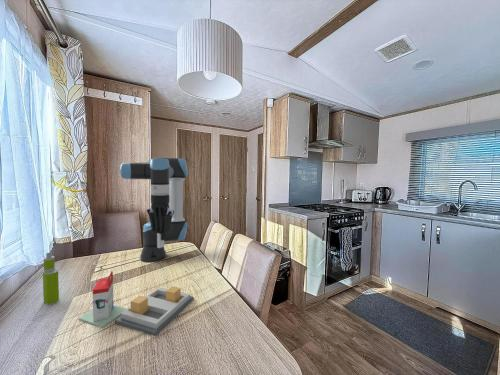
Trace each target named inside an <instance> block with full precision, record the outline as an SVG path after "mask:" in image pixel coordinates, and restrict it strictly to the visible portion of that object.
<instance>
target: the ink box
mask: <svg viewBox="0 0 500 375" xmlns="http://www.w3.org/2000/svg"><path fill="white" fill-rule="evenodd" d="M113 273H114V272H113V270H111V271H110V273H109V275H108V277H105V278H100V279H98V280H97V282H96V284H95V286H94V287H93V289H92V310H93V322H94V321H99V320H103V319H108V318H109V316H110V313H111V311H112V308H113V305H114V274H113Z"/></svg>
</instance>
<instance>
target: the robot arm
mask: <svg viewBox="0 0 500 375" xmlns="http://www.w3.org/2000/svg"><path fill="white" fill-rule="evenodd" d="M187 164H188V163H187V161H186V159H185V158H178V157H177V158H176V157H174V158H173V157H157V158H151V159H148V160H145V161H141V162H122V163H121V164H120V167H119V173H120V177H121V178H122V179H124V180H150V194H151V195H150V204H151V207H150V208H148V209H146V212H147V214H148V218H149V222H146V223H144V224H143V226H142V228H143V229H142V237H143V238H142V241H143V242H142V246H143V247H142V251H141V253H140V257H139V258H140V259H139V260H140V262H145V263H152V262H153V263H154V262H158V261H162V260H163V259H165V258H166V257H167V251H166V250H165V242H178V241H179V242H180V241H184V240H185V238H186V236H187V232H188V231H187V230H188V222H186V219H185V218H184V181H185V180H186V177H188V176H189V172H188V165H187Z"/></svg>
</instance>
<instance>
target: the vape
mask: <svg viewBox="0 0 500 375" xmlns="http://www.w3.org/2000/svg"><path fill="white" fill-rule="evenodd" d="M59 287H60V286H59V270H58V269H56V267H55V256H54V255H52V252H47V253H46V254H45V257H44V258H43V271H42V288H43V289H42V290H43V291H42V292H43V293H42V294H43V303H45V304H46V305H47V306H48V305H52V304H55V303H58V302H59V300H60V288H59Z"/></svg>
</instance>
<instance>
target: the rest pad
mask: <svg viewBox="0 0 500 375" xmlns="http://www.w3.org/2000/svg"><path fill="white" fill-rule="evenodd" d="M126 309H127V308H126V307H123V306H118V305H116V304H113V308H112V311H111V313H110V316H109V318H108V319H103V320H99V321H94V322H93V309H91V311H88V312H87V313H85V314H83V315H82V316H80V317H78V320H79V321H81V322H84V323H88V324H90V325H93V326H96V327H99V328H104V327H106V326H108V325H109V324H110V323H112V322H113V321H115V320H116V319H117V318H119V317H120V316H121V313H122V312H123V311H125V310H126Z"/></svg>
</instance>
